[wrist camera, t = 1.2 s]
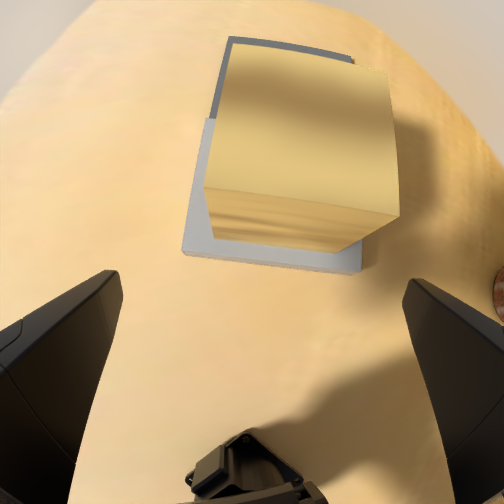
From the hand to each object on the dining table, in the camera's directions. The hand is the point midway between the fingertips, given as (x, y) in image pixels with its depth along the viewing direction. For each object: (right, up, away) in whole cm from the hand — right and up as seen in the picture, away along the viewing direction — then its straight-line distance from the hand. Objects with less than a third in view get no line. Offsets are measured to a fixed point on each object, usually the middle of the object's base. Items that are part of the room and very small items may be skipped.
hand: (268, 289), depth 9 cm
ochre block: (+2, +5, +12) cm, 14 cm away
